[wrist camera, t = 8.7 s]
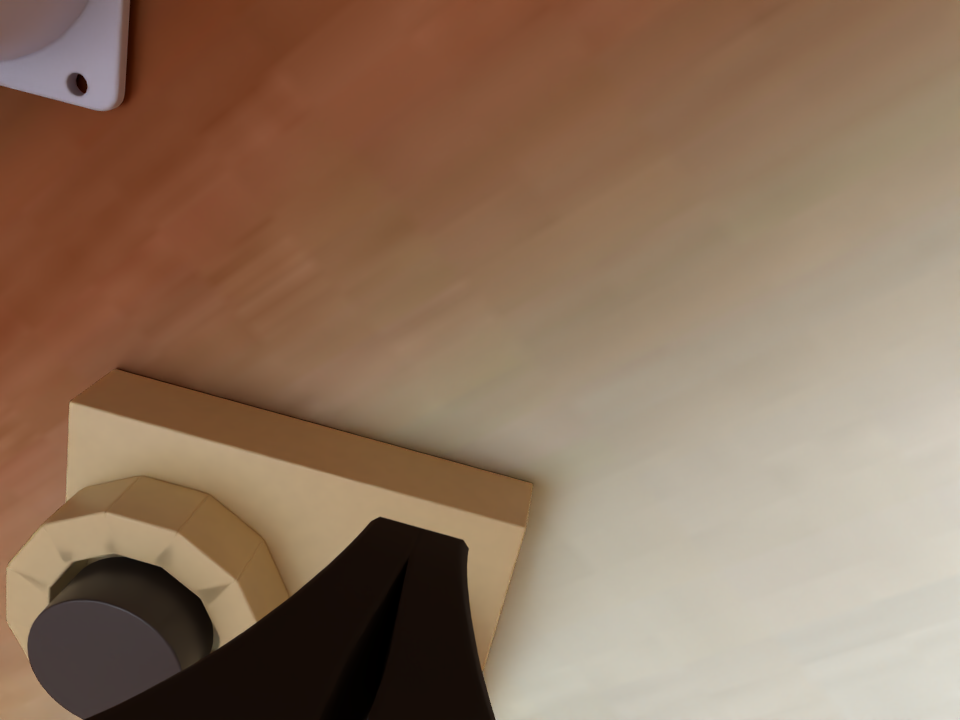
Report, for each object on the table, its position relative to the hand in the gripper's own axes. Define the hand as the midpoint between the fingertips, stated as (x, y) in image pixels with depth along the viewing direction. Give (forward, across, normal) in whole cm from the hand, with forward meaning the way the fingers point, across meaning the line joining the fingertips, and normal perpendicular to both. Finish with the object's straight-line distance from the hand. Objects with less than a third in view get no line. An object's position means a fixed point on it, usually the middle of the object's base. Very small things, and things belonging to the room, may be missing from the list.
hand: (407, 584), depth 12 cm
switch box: (+10, +4, +9) cm, 14 cm away
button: (+7, +7, +9) cm, 13 cm away
